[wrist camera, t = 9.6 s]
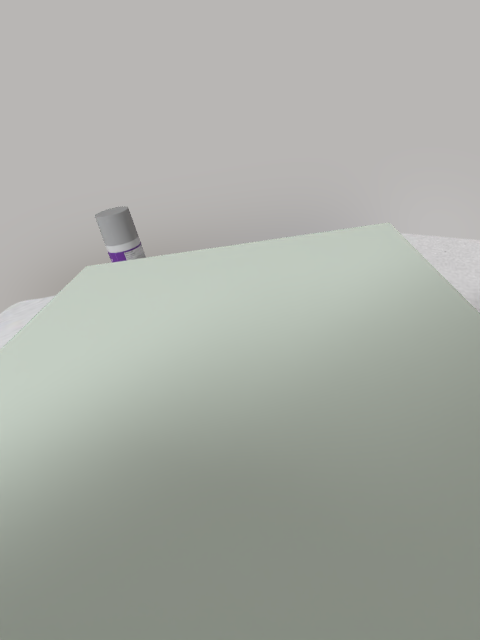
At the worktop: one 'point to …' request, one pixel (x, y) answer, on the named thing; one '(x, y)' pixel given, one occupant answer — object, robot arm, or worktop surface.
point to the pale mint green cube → (245, 448)
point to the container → (119, 234)
